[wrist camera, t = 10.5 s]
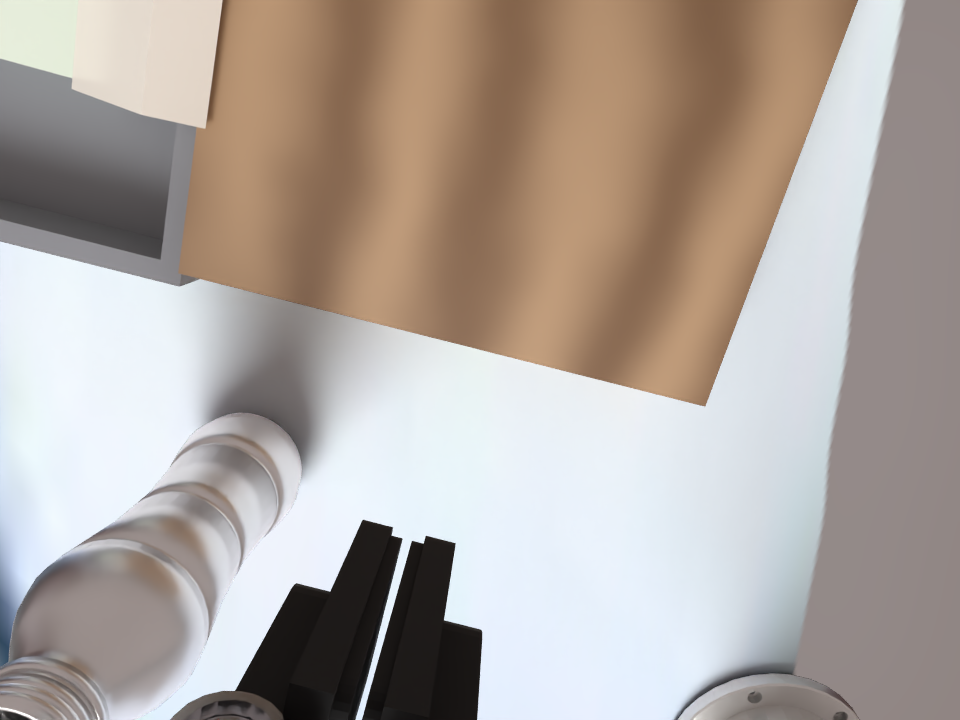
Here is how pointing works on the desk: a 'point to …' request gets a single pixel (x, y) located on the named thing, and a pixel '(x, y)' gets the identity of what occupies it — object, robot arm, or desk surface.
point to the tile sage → (39, 34)
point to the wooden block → (511, 169)
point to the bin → (91, 177)
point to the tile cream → (148, 55)
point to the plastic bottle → (149, 581)
